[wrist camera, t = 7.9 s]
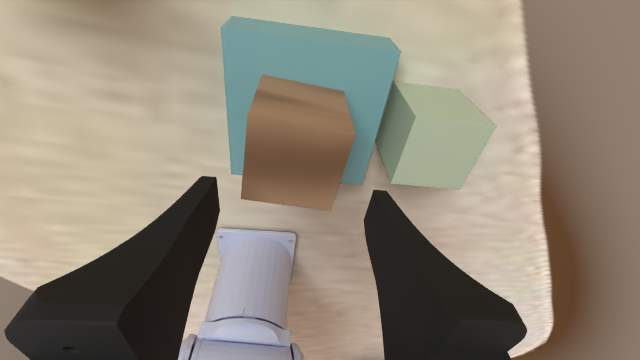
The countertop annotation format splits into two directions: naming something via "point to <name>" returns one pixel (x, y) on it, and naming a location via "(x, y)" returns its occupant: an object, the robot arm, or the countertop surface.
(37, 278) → the countertop surface
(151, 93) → the countertop surface
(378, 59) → the teal base block
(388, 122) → the sage block
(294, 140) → the walnut block
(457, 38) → the countertop surface
